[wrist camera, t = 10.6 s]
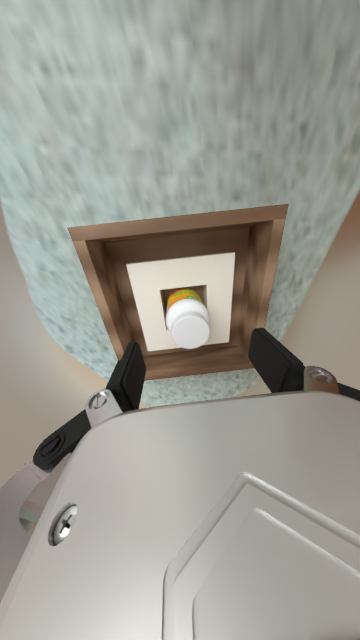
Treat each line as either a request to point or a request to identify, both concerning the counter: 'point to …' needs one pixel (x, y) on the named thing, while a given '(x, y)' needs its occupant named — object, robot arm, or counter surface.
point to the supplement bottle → (187, 318)
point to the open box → (183, 241)
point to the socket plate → (176, 274)
